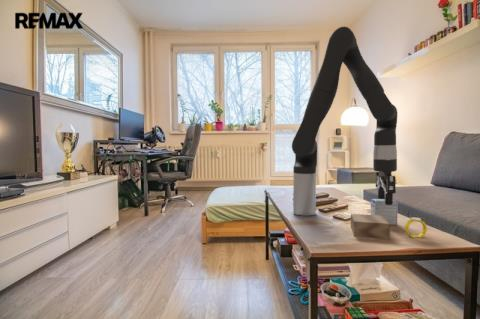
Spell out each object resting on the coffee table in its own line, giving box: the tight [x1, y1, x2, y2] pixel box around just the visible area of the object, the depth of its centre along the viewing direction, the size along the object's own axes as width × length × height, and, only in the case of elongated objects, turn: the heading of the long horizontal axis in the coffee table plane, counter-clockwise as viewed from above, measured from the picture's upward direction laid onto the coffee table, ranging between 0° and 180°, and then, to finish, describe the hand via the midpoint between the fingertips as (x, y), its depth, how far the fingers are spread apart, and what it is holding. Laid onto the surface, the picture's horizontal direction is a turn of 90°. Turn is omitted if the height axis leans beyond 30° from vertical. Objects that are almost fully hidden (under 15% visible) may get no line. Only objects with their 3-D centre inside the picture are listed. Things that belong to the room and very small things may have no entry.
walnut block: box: [350, 213, 390, 240], centre depth 89 cm, size 10×10×5 cm
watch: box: [404, 217, 428, 238], centre depth 85 cm, size 6×3×6 cm, turn 88°
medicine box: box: [370, 198, 399, 226], centre depth 99 cm, size 8×4×9 cm, turn 84°
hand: (384, 202), depth 99 cm, fingers open, 8 cm apart
